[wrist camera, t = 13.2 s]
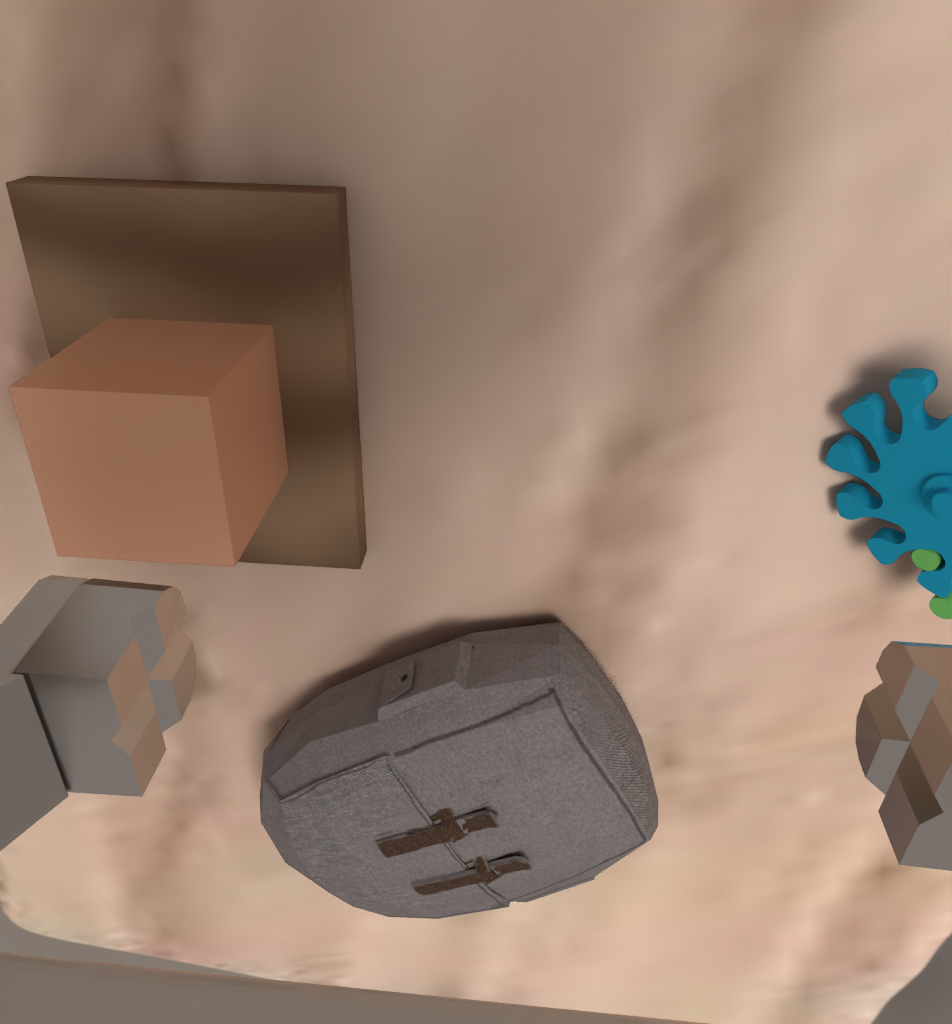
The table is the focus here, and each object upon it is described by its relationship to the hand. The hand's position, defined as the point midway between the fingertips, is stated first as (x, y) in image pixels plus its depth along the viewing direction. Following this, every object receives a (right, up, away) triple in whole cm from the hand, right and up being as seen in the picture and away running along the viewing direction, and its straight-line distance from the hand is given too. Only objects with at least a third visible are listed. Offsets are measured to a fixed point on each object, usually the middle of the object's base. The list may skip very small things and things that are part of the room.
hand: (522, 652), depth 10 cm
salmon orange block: (-12, +6, +24) cm, 27 cm away
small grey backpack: (-2, -10, +35) cm, 36 cm away
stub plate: (-11, +7, +25) cm, 28 cm away
